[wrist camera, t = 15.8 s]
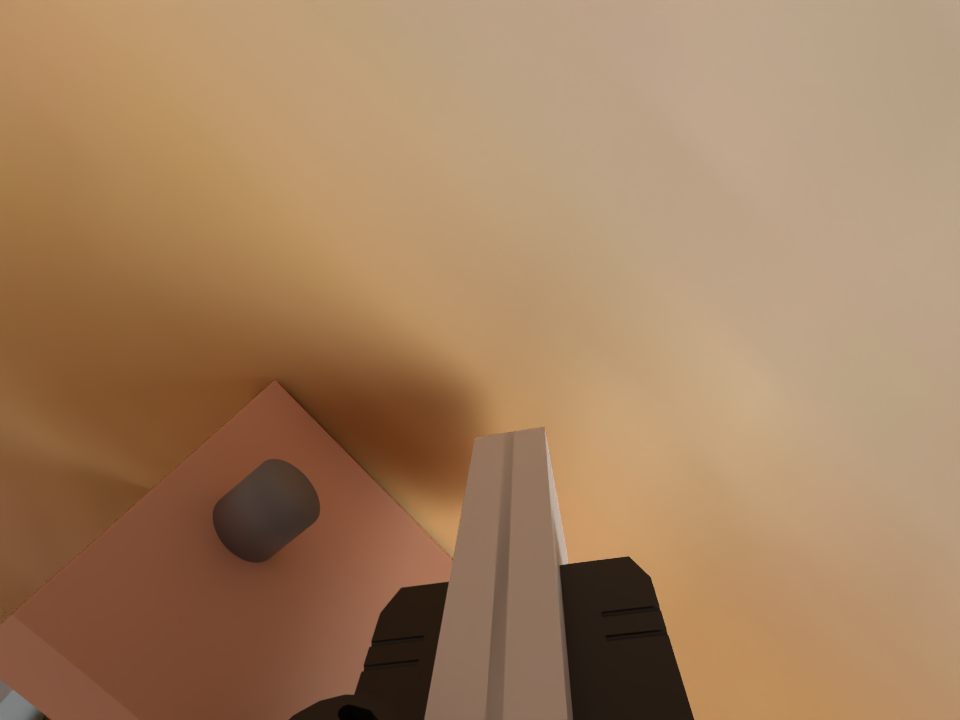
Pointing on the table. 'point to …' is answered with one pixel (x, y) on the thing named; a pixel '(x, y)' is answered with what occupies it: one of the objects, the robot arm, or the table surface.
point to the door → (225, 584)
